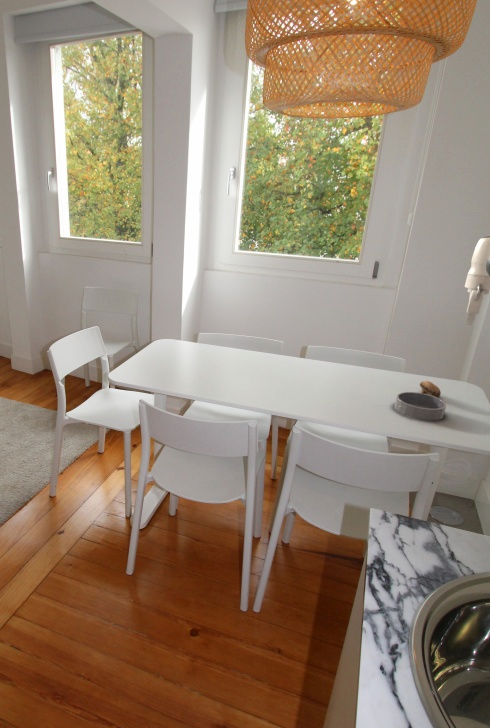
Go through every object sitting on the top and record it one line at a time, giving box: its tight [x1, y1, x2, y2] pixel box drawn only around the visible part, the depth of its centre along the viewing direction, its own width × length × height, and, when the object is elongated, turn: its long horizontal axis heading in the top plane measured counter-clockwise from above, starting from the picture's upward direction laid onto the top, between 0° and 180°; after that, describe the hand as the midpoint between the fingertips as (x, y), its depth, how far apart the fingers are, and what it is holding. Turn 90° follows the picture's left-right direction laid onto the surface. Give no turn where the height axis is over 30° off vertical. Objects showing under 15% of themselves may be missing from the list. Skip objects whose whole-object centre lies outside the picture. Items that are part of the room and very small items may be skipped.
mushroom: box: [419, 380, 441, 398], centre depth 178 cm, size 8×8×6 cm
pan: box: [394, 391, 447, 421], centre depth 164 cm, size 15×15×4 cm
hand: (469, 321), depth 169 cm, fingers open, 8 cm apart
